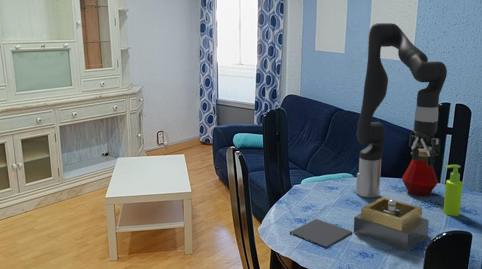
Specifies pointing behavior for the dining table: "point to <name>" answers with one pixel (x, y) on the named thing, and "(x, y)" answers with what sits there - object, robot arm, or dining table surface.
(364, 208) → the wooden tray
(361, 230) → the translucent grey knobbed box
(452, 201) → the soap dispenser
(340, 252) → the dining table surface
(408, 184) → the bottle
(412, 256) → the dining table surface
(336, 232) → the black mat
